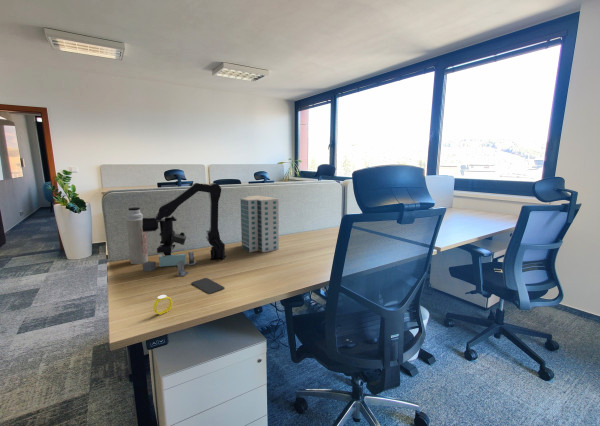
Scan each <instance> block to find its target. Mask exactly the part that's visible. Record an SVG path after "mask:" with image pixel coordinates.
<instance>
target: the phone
mask: <svg viewBox="0 0 600 426" xmlns="http://www.w3.org/2000/svg"><path fill="white" fill-rule="evenodd" d="M191 285H193V286H194V287H196V288H197V289H199V290H201V291H202V292H203V293H206V294H207V295H212V294H215V293H218V292H222V291H223V290H225V289H226V288H225V286H223V285H222V284H219V283H217V282H215V281H214V280H212V279H210V278H208V277H203V278H201V279H196V280H195V281H192V282H191Z"/></svg>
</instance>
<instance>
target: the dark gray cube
mask: <svg viewBox="0 0 600 426" xmlns="http://www.w3.org/2000/svg"><path fill="white" fill-rule="evenodd" d="M156 269H157V263H156V261H152V260H151V261H150V260H148V261H147V262H145V263H142V271H143V272H153V271H154V270H156Z"/></svg>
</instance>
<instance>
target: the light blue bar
mask: <svg viewBox="0 0 600 426" xmlns="http://www.w3.org/2000/svg"><path fill="white" fill-rule="evenodd" d="M158 261H159V267H160V268H161V267H163V268H164V267H171V266H177V263H178V262H179V261H184V266H185V265H187V253H181V254H180V253H178V254H171V255H164V253H158Z"/></svg>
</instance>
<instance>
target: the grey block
mask: <svg viewBox="0 0 600 426" xmlns="http://www.w3.org/2000/svg"><path fill="white" fill-rule="evenodd" d="M176 267H177V275H176V276H177V277H185V276H187V275H188V274H189V271H186V270H185V265H184V261H179V262H178V263H177V265H176Z"/></svg>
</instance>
